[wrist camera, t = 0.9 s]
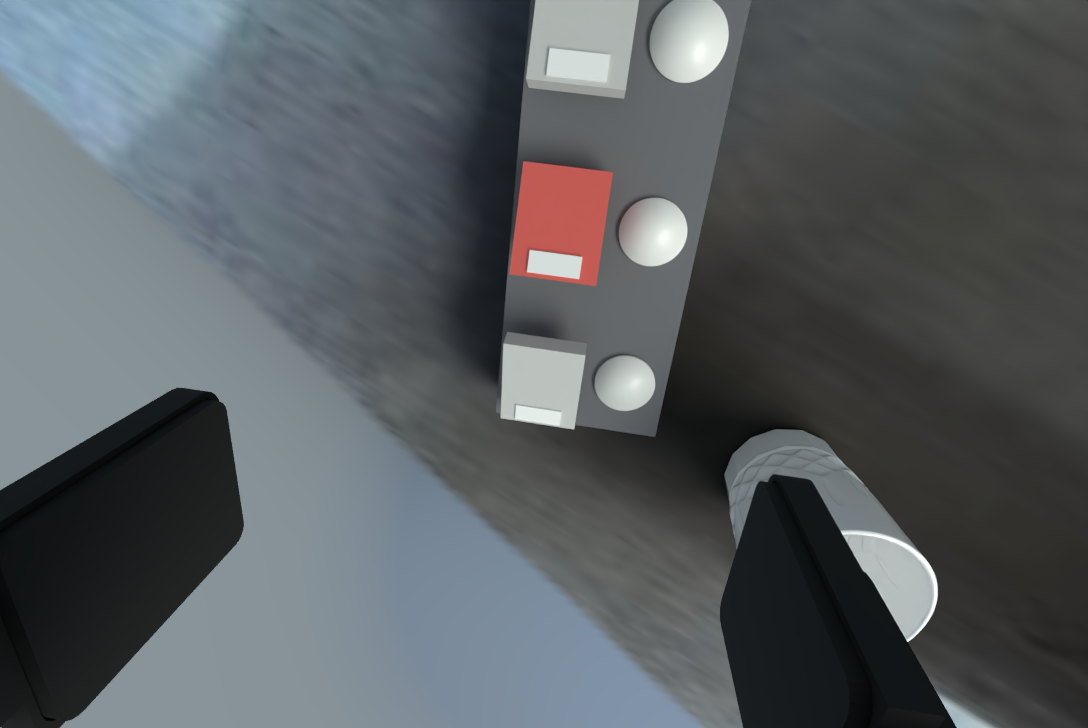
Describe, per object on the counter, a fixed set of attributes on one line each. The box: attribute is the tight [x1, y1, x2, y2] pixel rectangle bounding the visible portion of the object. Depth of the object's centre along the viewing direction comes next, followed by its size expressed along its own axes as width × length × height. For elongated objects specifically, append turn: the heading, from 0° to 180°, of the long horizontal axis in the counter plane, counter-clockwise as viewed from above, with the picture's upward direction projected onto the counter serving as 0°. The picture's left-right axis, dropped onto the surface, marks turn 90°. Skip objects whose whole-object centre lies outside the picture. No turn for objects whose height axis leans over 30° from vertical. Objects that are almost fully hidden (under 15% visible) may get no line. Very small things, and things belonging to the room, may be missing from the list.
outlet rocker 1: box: [526, 0, 639, 99], centre depth 22 cm, size 5×4×1 cm
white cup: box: [724, 429, 938, 642], centre depth 29 cm, size 8×8×10 cm
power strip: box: [496, 0, 751, 437], centre depth 27 cm, size 26×9×4 cm, turn 174°
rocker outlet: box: [501, 332, 587, 429], centre depth 28 cm, size 5×4×1 cm
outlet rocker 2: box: [509, 161, 613, 286], centre depth 25 cm, size 5×4×1 cm
